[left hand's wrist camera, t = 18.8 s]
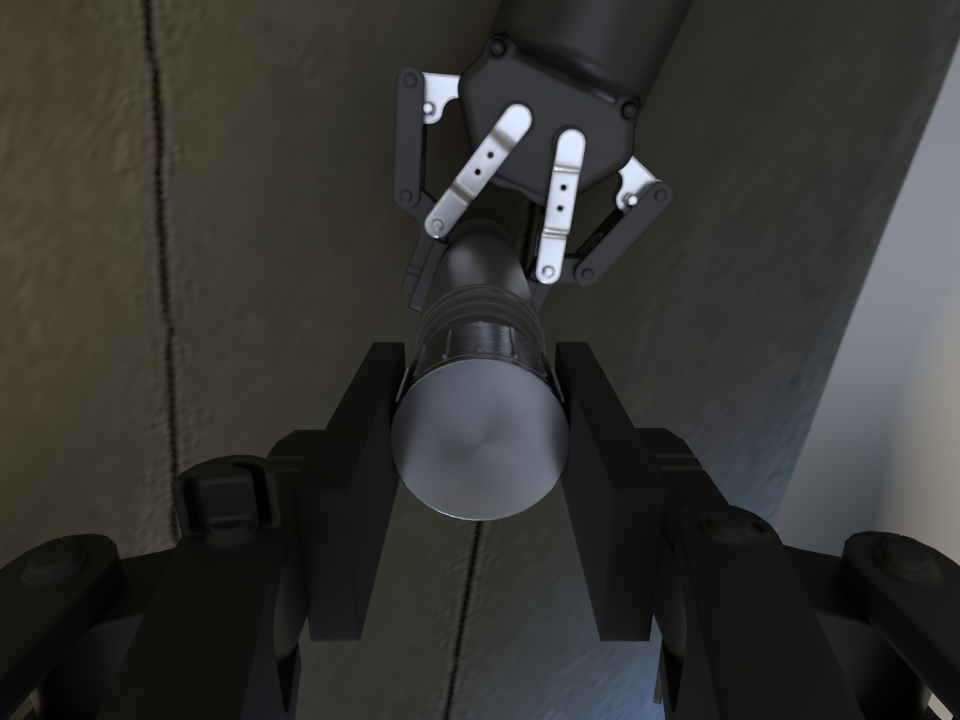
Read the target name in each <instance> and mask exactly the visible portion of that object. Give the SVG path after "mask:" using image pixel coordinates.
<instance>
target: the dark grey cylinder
mask: <svg viewBox="0 0 960 720" xmlns="http://www.w3.org/2000/svg"><path fill="white" fill-rule="evenodd" d="M449 238H450V240H449V243H448V245H447V248H446V251H445V253H444V256H443V258H442V260H441V262H440V265H439V268H438V270H437V273H436V276H435V279H434V282H433V284H432V287H431V290H430V293H429V296H428V298H427V301H426V304H425V307H424V309H423V312H422V315H421V318H420V321H419V323H418V326H417V330H416V333H415V340H414V357H415V356H416V354H417V353H418V352H419V350H420V348H421V345H422V344H426V343H427V342H428V341H429V340H431V339H432V338H433V337H435V336H436V335H438V334H440V333H441V332H443V331H445V330H447V328H449V327H450V328H452V327H455V326H459V325H463V324H469V323H478V322H479V321H482V323H492V324H498V325H501V326H505V327H508V328H510V327H512V328H513V330H515V331H517V332H519V333H521V334H523V335H524V336H526V337H527V338H528V339H530V340H531V341H532V342H533V343H534V344H538V345H539V348H540V350H541V351H542V353H543V354H544V355H545V357H546V338H545V333H544V329H543V326H542V323H541V320H540V318H539V315H538V312H537V309H536V306H535V304H534V301H533V298H532V295H531V293H530V290H529V287H528V284H527V281H526V279H525V276H524V273H523V270H522V267H521V265H520V262H519V259H518V256H517V253H516V251H515V248H514V245H513V242H512V239H511V237H510V235H509V233H508V232H507V231H506V229H505V228H504V227H503V226H501V225H500V224H499V223H497V222H495V221H493V220H491V219H487V218H473V219H469V220H467V221H465V222H463V223H461V224H460V225H459V226H458V227H456V228H455V230H454V231H453V232H452V234H451V235H450V237H449Z"/></svg>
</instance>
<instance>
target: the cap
mask: <svg viewBox="0 0 960 720" xmlns="http://www.w3.org/2000/svg"><path fill="white" fill-rule="evenodd" d="M394 404H396V408H395V411H394V414H393V417H392V421H391V426H390V437H391V453H392V461H393V463H394V466H395V469H396V471H397V473H398V475H399V476H400V478H401V480H402V481H403V483H404V484H405V485H406V487H407V488H408V489H409V490H410V491H411V492H412V493H413V494H414V495H415V496H416V497H417V498H418V499H419V500H421V501H422V502H423V503H425V504H426V505H428V506H429V507H431V508H433V509H435V510H437V511H439V512H441V513H444V514H446V515H449V516H452V517H456V518H461V519H467V520H493V519H499V518H504V517H508V516H511V515H514V514H517V513H519V512H521V511H523V510H525V509H528V508H529V507H531V506H532V505H534V504H536V503H537V502H538V501H540V500H541V499H542V498H543V497H544V496H546V495H547V494H548V493H549V491H550V490H551V489H552V488H553V487H554V486H555V484H556V483H557V482H558V480H559V479H560V477H561V475H562V473H563V471H564V469H565V467H566V464H567V461H568V457H569V443H570V425H569V420H568V416H567V413H566V410H565V407H564V404H566V402H565V399H564V396H563V393H562V390H561V387H560V384H559V381H558V378H557V375H556V372H555V369H554V368H552V369H551V366H550V364H549V362H548V360H547V359H546V357H545V355H544V354H543V353H542V351H541V350H540V348H539V345H538V344H534V343H533V342H532V341H531V340H530V339H528V338H527V337H526V336H524V335H523V334H521V333H519V332H517V331H515V330H513V328H512V327H510V328H508V327H505V326H501V325H498V324H492V323H482V321H479V322H478V323H469V324H463V325H459V326H455V327H452V328H450V327H449V328H447V330H445V331H443V332H441V333H440V334H438V335H436V336H435V337H433V338H432V339H431V340H429V341H428V342H427V343H426V344H422V345H421V348H420V350H419V352H418V353H417V354H416V356H415V357H414V359H413V361H412V363H411V364H410V367H409V369H408V368H406V370H405V373H404V376H403V379H402V382H401V385H400V388H399V390H398V393H397V396H396V399H395V402H394Z"/></svg>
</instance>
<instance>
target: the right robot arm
mask: <svg viewBox="0 0 960 720" xmlns="http://www.w3.org/2000/svg"><path fill="white" fill-rule="evenodd" d="M693 1H694V0H501V2H500V5H499V8H498V10H497V13H496V16H495V18H494V21H493V24H492V26H491V29H490V32H489V34H488V37H487V40H486V42H485V45H484V47H483V49H482V51H481V52H480V54H479V55H478V57H477V58H476V59H475V60H474V61H473V62H472V63H471V64H469V65H468V66H467V67H466V68H465V69H464V71H463V72H462V74H461V76H456V75H446V74H435V73H424V72H421V70H420V69H419V68H417V67H416V66H413V65H407V66H404V67H403V68H401V69H400V70H399V72H398V74H397V79H396V109H395V142H394V175H393V199H394V202H395V203H396V205H397V206H398V207H400V208H402V209H404V210H405V211H406V212H407V213H409V214H410V215H411V216H412V217H413V218H414V219H415V220H416V221H417V223H418V225H419V228H420V236H419V239H418V242H417V244H416V247H415V250H414V252H413V255H412V258H411V260H410V263H409V266H408V268H407V271H406V273H405V276H404V279H403V281H402V293H403V294H406V295H408V296H411V297H412V298H411V300H410V303H409V306H408V308H410V309H412V310H415V311H417V312H420V313H421V311H422V308H423V306H424V303H425V301H426V298H427V296H428V293H429V291H430V288H431V286H432V283H433V281H434V278H435V276H436V273H437V270H438V268H439V265H440V262H441V260H442V258H443V256H444V253H445V251H446V248H447V245H448V243H449V240H450V238H448V237H447V235H448V232H449V231H450V229H451V228H452V227H453V226H454V224H455V223H456V222H457V220H458V219H459V218H460V216H461V215H462V214H463V212H464V211H465V210H466V209H467V207H468V206H469V205H470V203H471V202H472V201H473V200H474V199H475V197H476V196H477V195H478V194H479V192H480V191H481V190H482V188H483V187H484V186H485V184H486V183H487V182H489V183H491V184H494V185H496V186H498V187H501V188H508V189H515V190H519V191H520V192H521V193H522V194H524V195H525V196H526V197H527V198H529V199H530V200H531V201H532V202H535V203H537V204H539V208H538V215H537V224H536V225H537V227H536V235H535V242H534V248H533V255H532V261H531V263H530V266H529V268H528V270H527V271H525V270H523V273H524V276H525V279H526V281H527V284H528V287H529V290H530V293H531V295H532V298H533V301H534V304H535V306H536V309H537V312H538V314H539V312H540V310H541V308H542V305H543V303H544V301H545V299H546V297H547V295H548V293H549V291H550V289H551V288H552V287H553V286H555V285H556V284H559V283H579V284H580V285H582V286H591V285H594V284H595V283H596V282H597V281H598V280H599V279H600V278H601V277H602V276H603V275H604V274H605V273H606V272H607V270H608V269H609V268H610V267H611V266H612V265H613V264H614V263H615V262H616V261H617V260H618V259H619V258H620V257H621V256H622V255H623V254H624V252H625V251H626V250H627V249H628V248H629V247H630V246H631V245H632V244H633V243H634V242H635V241H636V240H637V239H638V238H639V237H640V235H641V234H642V233H643V232H644V231H645V230H646V229H647V228H648V227H649V226H650V225H651V224H652V223H653V222H654V221H655V220H656V218H657V217H658V216H659V215H660V214H661V213H662V212H663V211H664V210H665V209H666V208H667V207H668V206H669V205H670V203H671V202H672V200H673V197H674V191H673V188H672V187H671V185H670V184H668V183H666V182H663V181H659V180H657V179H656V178H655V177H654V176H653V175H652V174H651V173H650V172H649V171H648V170H647V169H646V168H645V167H644V166H643V165H642V164H641V163H639V162H638V161H637V160H636V159H635V158H634V157H633V153H634V148H635V140H634V135H635V127H636V123H637V120H638V117H639V115H640V113H641V111H642V109H643V106H644V104H645V102H646V100H647V98H648V96H649V94H650V92H651V89H652V87H653V85H654V83H655V81H656V79H657V77H658V75H659V73H660V70H661V68H662V66H663V64H664V62H665V60H666V58H667V56H668V54H669V51H670V49H671V47H672V45H673V43H674V41H675V39H676V37H677V35H678V32H679V30H680V28H681V26H682V24H683V22H684V20H685V18H686V16H687V13H688V11H689V9H690V7H691V5H692V3H693ZM454 100H459V103H460V107H461V112H462V116H463V121H464V125H465V130H466V134H467V138H468V143H469V147H470V152H471V156H472V157H471V158H470V160H469V161H468V162H467V164H466V165H465V166H464V168H463V169H462V170H461V172H460V173H459V174H458V176H457V177H456V178H455V180H454V181H453V182H452V184H451V185H450V186H449V188H448V189H447V191H446V192H445V193H444V195H443V196H442V197H441V199H440V200H439V201H437V200H436V199H435V198H434V197H433V196H432V195H431V194H430V193H428V192H427V191H426V190H425V189H424V185H425V165H426V144H427V124H429V125H433V124H436V123H438V122H439V121H440V120H441V119H442V117H443V115H444V110H445V108H446V106H447V105H448V104H449V103H450V102H451V101H454ZM476 170H477V171H478V172H476ZM615 173H616V174H617V176H618V186H617V188H616V189H615V191H614V193H613V195H612V202H613V205H614V206H615V207H616V208H615V209H614V210H613V212H612V213H611V214H610V215H609V216H608V217H607V218H606V219H605V220H604V221H603V223H602V224H601V225H600V226H599V227H598V228H597V229H596V230H595V231H594V232H593V234H592V235H591V236H590V237H589V238H588V239H587V240H586V241H585V242H584V243H583V244H582V246H581V247H580V248H579V249H578V250H577V251H576V252H575V253H574V254H570V253H564V251H565V245H566V240H567V237H568V235H569V231H570V227H571V221H572V215H573V209H574V203H575V198H576V197H578V196H579V195H581V194H583V193H584V192H586V191H587V190H589V189H591V188H592V187H594V186H596V185H597V184H599V183H601V182H602V181H604V180H606V179H607V178H609V177H610V176H612V175H614V174H615Z"/></svg>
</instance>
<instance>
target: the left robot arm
mask: <svg viewBox="0 0 960 720" xmlns="http://www.w3.org/2000/svg"><path fill="white" fill-rule="evenodd" d="M405 370H406V369H405V348H404V342H373V344H372V346H371V348H370V350H369V351H368V353H367V355H366V357H365V359H364V360H363V362H362V364H361V366H360V368H359V369H358V371H357V373H356V375H355V376H354V378H353V380H352V382H351V384H350V385H349V387H348V389H347V391H346V393H345V394H344V396H343V398H342V400H341V402H340V403H339V405H338V407H337V409H336V411H335V412H334V414H333V416H332V418H331V420H330V421H329V423H328V425H327V427H326V428H325V430H295V431H293V432H292V433H290V434H289V435H287V436H286V437H284V438H283V439H281V440H280V441H278V442H277V443H276V444H275V446H274V447H273V448H272V450H271V451H270V453H269V454H268V456H267V459H265V458H261V457H257V456H253V455H231V456H226V457H220V458H214V459H211V460H208V461H206V462H203V463H200V464H197V465H195V466H193V467H191V468H190V469H188V470H186V471H184V472H183V473H181V474H180V475H179V476H178V477H177V478H176V479H175V480H174V481H173V482H172V483H171V487H172V491H173V496H174V501H175V505H176V510H177V515H178V519H179V524H180V529H181V534H182V537H181V539H180V541H179V543H178V545H177V547H176V548H173V549H169V550H165V551H161V552H156V553H151V554H146V555H141V556H136V557H131V558H127V559H122V560H120V558H119V554H118V551H117V547H116V543H114V542H113V541H112V540H111V539H110V538H109V537H107V536H103V535H97V534H81V535H70V536H65V537H62V538H60V539H59V538H57V539H54V540H51V541H48V542H46V543H44V544H42V545H40V546H38V547H36V548H33V549H31V550H29V551H27V552H25V553H24V554H22V555H21V556H19V557H18V558H16V559H15V560H13V561H11V562H10V563H8V564H7V565H6V566H5V567H3V568H2V569H1V570H0V720H9V717H10V716H11V715H12V714H13V713H14V712H15V711H16V710H17V708H18V707H19V706H20V705H21V704H22V703H23V702H24V701H25V699H26V698H27V697H28V696H30V698H31V701H32V704H33V708H32V709H31V711H30V712H29V713H28V714H27V715H26V716H25V718H24V719H22V720H295V714H296V705H297V697H298V689H299V681H300V672H301V658H300V651H299V644H298V639H299V636H300V633H301V631H302V628H303V625H304V623H305V620H306V617H307V615H308V622H309V630H310V638H311V641H360V638H361V634H362V630H363V626H364V622H365V618H366V614H367V609H368V605H369V601H370V597H371V593H372V589H373V585H374V581H375V577H376V573H377V569H378V565H379V561H380V557H381V552H382V548H383V544H384V540H385V536H386V532H387V528H388V524H389V520H390V516H391V512H392V508H393V504H394V499H395V495H396V491H397V487H398V483H399V479H400V476H399V475H398V473H397V471H396V469H395V466H394V463H393V461H392V453H391V437H390V426H391V421H392V417H393V414H394V411H395V408H396V404H394V402H395V399H396V396H397V393H398V390H399V388H400V385H401V382H402V379H403V376H404V373H405ZM555 372H556V375H557V378H558V381H559V384H560V387H561V390H562V393H563V396H564V399H565V402H566V404H564V407H565V410H566V413H567V416H568V420H569V425H570V443H569V457H568V461H567V464H566V467H565V469H564V471H563V473H562V475H561V477H560V478H561V482H562V486H563V490H564V494H565V498H566V502H567V506H568V510H569V514H570V518H571V522H572V526H573V531H574V535H575V539H576V543H577V547H578V551H579V555H580V559H581V563H582V567H583V571H584V575H585V579H586V583H587V588H588V592H589V596H590V600H591V604H592V608H593V612H594V616H595V620H596V624H597V628H598V632H599V636H600V641H650V633H651V625H652V618H653V613H654V616H655V619H656V621H657V624H658V627H659V629H660V632H661V635H662V644H661V651H660V658H659V665H658V672H657V679H656V686H655V694H654V701H653V703H658V704H661V701H662V696H663V704H664V713H665V720H941V719H940V718H939V717H938V716H937V715H936V714H935V713H934V711H933V710H932V709H931V708H930V707H929V706H928V703H929V700H930V697H931V694H932V692H933V693H934V695H935V696H936V697H937V698H938V699H939V700H940V701H941V702H942V704H943V705H944V706H945V707H946V708H947V709H948V710H949V711H950V712H951V714H952V715H953V718H952V720H960V566H959V565H958V564H957V563H955V562H954V561H953V560H951V559H950V558H948V557H946V556H945V555H943V554H942V553H940V552H939V551H937V550H936V549H934V548H932V547H930V546H927V545H925V544H923V543H920V542H918V541H917V540H915V539H913V538H910V537H906V536H903V535H902V536H900V535H899V534H894V533H888V532H875V531H866V532H861V533H855V534H853V535H852V536H851V537H850V538H848V539H847V540H846V541H845V545H844V549H843V553H842V556H841V557H837V556H832V555H827V554H822V553H817V552H812V551H807V550H802V549H798V548H793V547H790V546H786V545H783V544H782V542H781V540H780V538H779V536H778V534H777V533H776V532H775V530H774V529H773V528H772V526H771V525H770V524H769V523H768V522H766V521H765V520H763V519H762V518H760V517H759V516H757V515H756V514H754V513H752V512H749V511H747V510H744V509H742V508H740V507H737V506H732V505H729V504H728V502H727V501H726V499H725V498H724V497H723V495H722V494H721V492H720V491H719V489H718V488H717V487H716V485H715V484H714V482H713V481H712V480H711V478H710V477H709V475H708V474H707V472H706V471H705V470H703V469H702V465H701V464H700V463H699V461H698V460H697V458H694V454H693V453H692V451H691V450H690V448H689V447H688V445H687V444H686V443H685V441H684V440H682V439H681V438H679V437H678V436H676V435H675V434H673V433H672V432H670V431H669V430H667V429H665V428H634V426H633V424H632V422H631V421H630V419H629V417H628V415H627V413H626V412H625V410H624V408H623V406H622V404H621V403H620V401H619V399H618V397H617V396H616V394H615V392H614V390H613V388H612V387H611V385H610V383H609V381H608V379H607V378H606V376H605V374H604V372H603V370H602V369H601V367H600V365H599V363H598V361H597V360H596V358H595V356H594V354H593V352H592V351H591V349H590V347H589V345H588V344H587V342H556V356H555Z"/></svg>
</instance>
